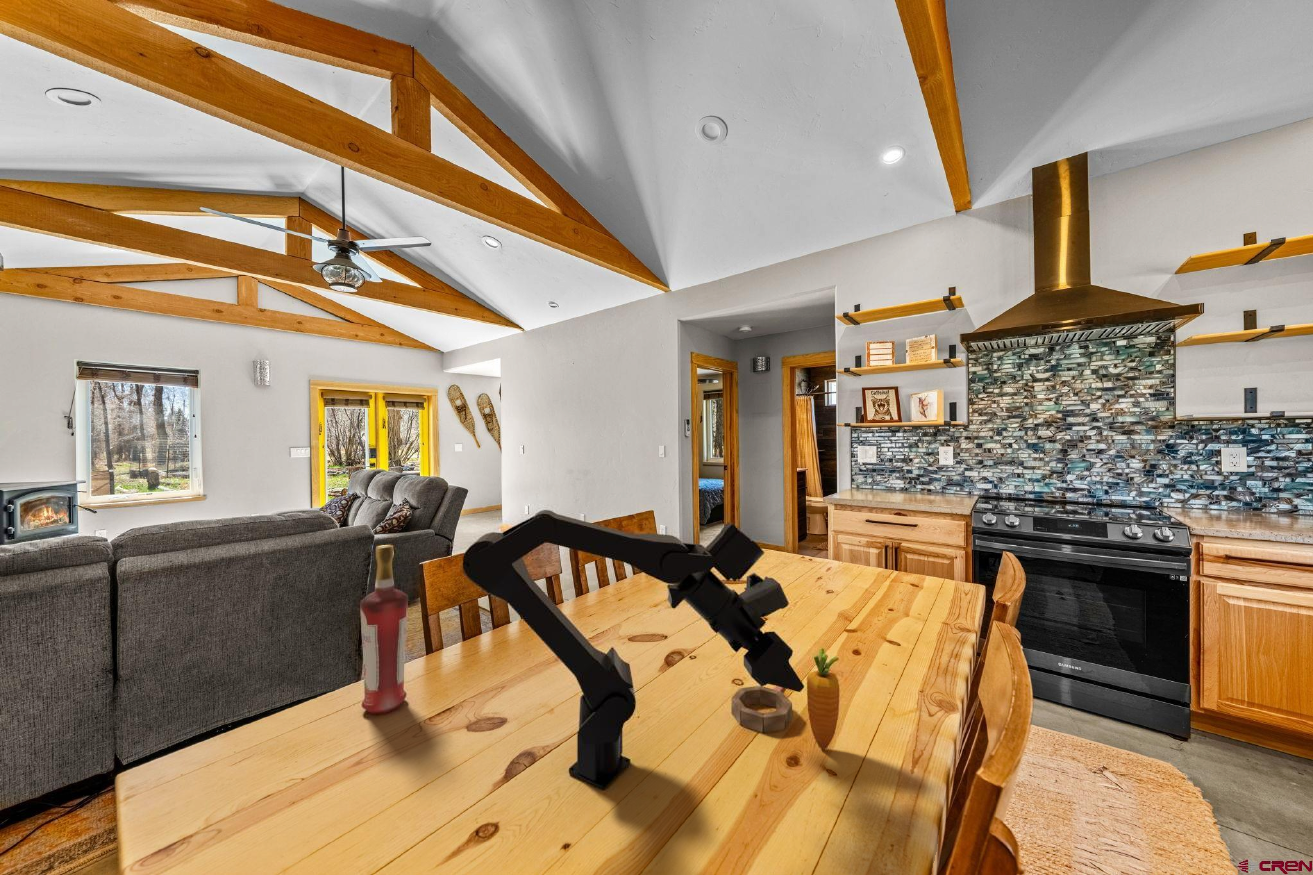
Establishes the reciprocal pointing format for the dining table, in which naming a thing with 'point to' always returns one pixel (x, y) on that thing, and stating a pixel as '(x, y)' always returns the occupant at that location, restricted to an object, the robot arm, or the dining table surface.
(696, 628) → the dining table surface
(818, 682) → the carrot
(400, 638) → the liquor
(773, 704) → the bead ring
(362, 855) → the dining table surface
